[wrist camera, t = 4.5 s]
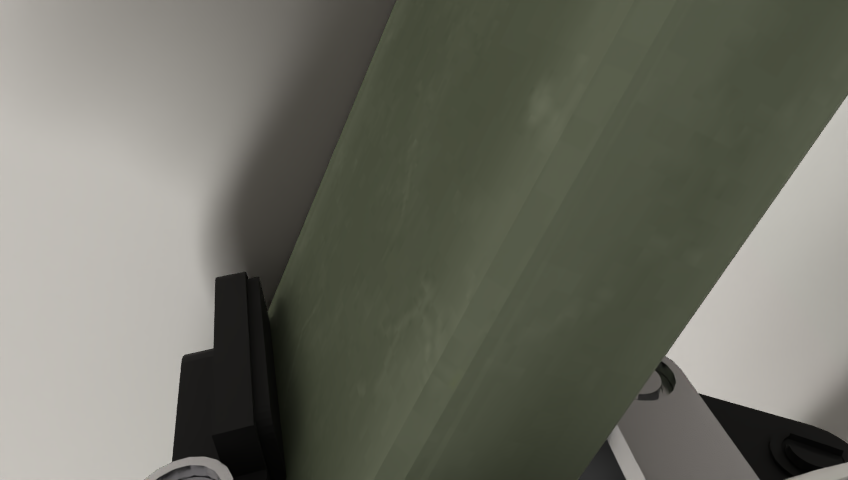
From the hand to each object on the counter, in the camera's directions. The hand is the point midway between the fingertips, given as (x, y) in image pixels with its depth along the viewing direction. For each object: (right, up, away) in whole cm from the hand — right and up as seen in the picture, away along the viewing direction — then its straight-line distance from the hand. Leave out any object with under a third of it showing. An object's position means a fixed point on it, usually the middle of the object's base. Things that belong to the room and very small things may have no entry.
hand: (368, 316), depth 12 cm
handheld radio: (-1, +1, 0) cm, 1 cm away
